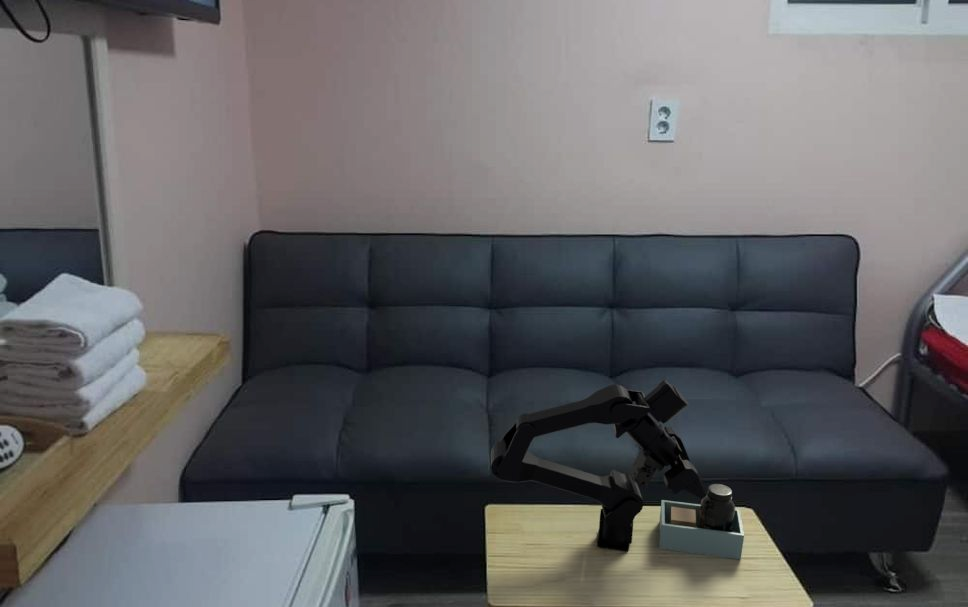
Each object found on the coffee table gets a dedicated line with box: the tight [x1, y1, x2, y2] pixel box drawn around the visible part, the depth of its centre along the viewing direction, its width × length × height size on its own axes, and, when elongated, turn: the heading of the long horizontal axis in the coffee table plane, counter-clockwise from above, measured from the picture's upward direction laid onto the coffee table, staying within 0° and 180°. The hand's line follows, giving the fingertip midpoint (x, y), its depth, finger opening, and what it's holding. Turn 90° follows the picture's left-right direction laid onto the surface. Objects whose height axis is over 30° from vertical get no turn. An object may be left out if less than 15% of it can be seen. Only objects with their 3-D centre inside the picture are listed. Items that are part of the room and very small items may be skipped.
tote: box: [658, 499, 745, 560], centre depth 170 cm, size 16×10×6 cm, turn 79°
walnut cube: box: [669, 507, 696, 528], centre depth 171 cm, size 5×5×5 cm
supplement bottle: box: [698, 483, 736, 532], centre depth 169 cm, size 7×7×12 cm
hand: (698, 484), depth 166 cm, fingers open, 9 cm apart
